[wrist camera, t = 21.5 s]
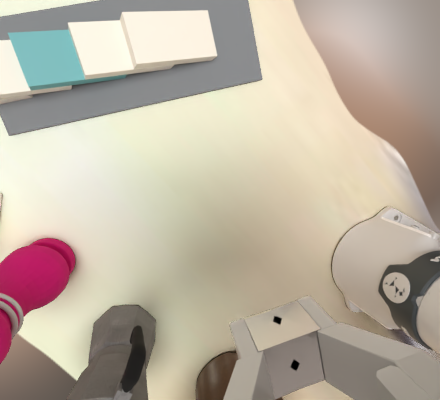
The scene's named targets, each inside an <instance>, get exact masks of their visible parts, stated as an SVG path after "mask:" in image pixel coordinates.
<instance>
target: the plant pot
mask: <svg viewBox="0 0 440 400" xmlns="http://www.w3.org/2000/svg"><path fill="white" fill-rule="evenodd" d="M237 360H239V359H238V356H237V353H231V352H228V353H224V354H222V355H220V356H218V357H216V358H215V359H213V360H212V361H210V362H209V363H208V364H207V365H206V366H205V367H204V369H203V370H202V371H201V373H200V375H199V377H198V379H197V385H196V400H223V399H224V396H225V393H226V390H227V387H228V384H229V382H230V379H231V376H232V373H233V370H234V367H235V364H236V361H237ZM275 400H283V399H282V397H280V398H278V399H275Z"/></svg>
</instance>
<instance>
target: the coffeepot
mask: <svg viewBox="0 0 440 400" xmlns="http://www.w3.org/2000/svg"><path fill="white" fill-rule="evenodd" d="M155 322H156V320H155V319H154V318H153V317H152V316H151V315H150V314H149V313H148V312H147V311H146V310H144V309H143V308H141V307H139V306H138V305H121V306H116V307H111V308H110V309H109V310H108V311H107V312H105V313H104V314H103V315H102V316H101V317H100V318H99V319H98V320H97V321H96V322H95V323H94V326H93V333H92V339H91V346H90V353H89V366H88V367H87V368H86V369H85V370H84V371H83V372H82V373H81V375H80V377H79V379H78V380H77V382H76V384H75V385H74V387H73V389H72V391H71V392H70V394H69V396H68V398H67V399H66V400H148V393H147V380H146V369H147V365H148V362H149V359H150V356H151V352H152V349H153V346H154V342H155Z"/></svg>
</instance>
